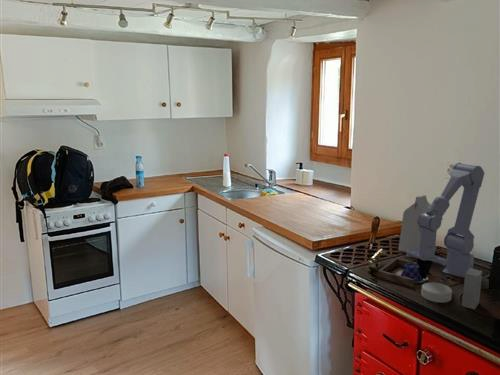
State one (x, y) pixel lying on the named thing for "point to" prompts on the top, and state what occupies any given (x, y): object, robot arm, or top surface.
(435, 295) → the white short cylinder
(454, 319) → the top surface
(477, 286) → the skincare box
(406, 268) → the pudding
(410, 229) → the milk
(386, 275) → the holder
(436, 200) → the robot arm
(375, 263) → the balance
